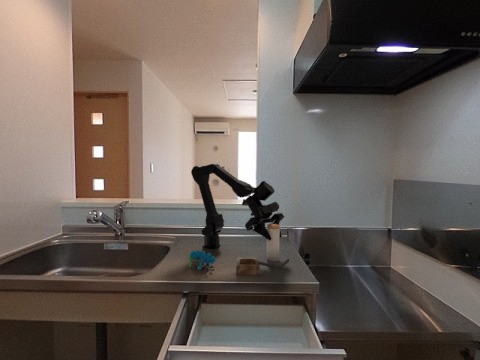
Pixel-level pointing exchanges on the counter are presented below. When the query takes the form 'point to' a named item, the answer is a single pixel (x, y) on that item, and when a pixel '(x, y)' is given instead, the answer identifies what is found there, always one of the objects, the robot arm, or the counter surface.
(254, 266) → the socket block
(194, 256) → the blue lumpy piece
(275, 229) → the plug
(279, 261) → the mat
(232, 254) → the counter surface
